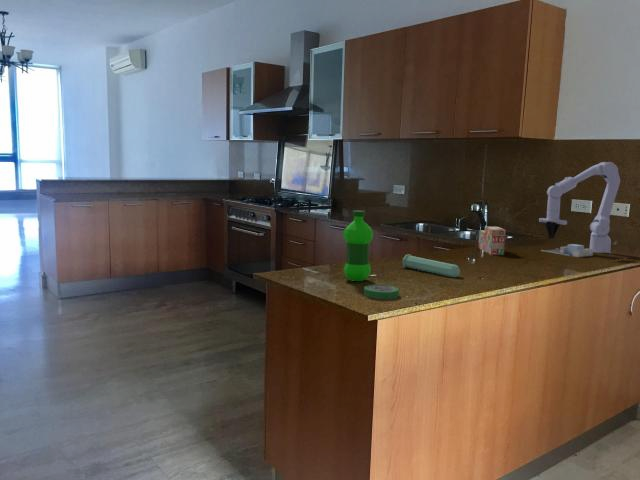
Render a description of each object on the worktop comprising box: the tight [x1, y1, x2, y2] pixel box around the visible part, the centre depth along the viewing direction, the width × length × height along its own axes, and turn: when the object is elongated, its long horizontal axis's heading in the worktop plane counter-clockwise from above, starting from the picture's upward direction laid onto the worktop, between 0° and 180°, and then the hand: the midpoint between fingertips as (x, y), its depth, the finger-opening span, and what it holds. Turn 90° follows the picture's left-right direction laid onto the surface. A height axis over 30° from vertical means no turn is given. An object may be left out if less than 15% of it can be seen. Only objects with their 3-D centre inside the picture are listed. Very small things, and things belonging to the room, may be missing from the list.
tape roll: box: [363, 284, 400, 300], centre depth 176 cm, size 11×11×3 cm
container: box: [402, 253, 461, 278], centre depth 215 cm, size 6×6×25 cm
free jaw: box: [558, 245, 567, 254], centre depth 260 cm, size 10×3×3 cm, turn 119°
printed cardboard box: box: [478, 226, 507, 256], centre depth 269 cm, size 21×6×12 cm, turn 0°
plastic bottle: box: [342, 210, 374, 281], centre depth 195 cm, size 10×10×25 cm
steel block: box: [566, 243, 585, 255], centre depth 257 cm, size 5×5×4 cm
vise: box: [540, 247, 594, 258], centre depth 261 cm, size 12×20×4 cm, turn 29°
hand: (551, 238), depth 270 cm, fingers closed
